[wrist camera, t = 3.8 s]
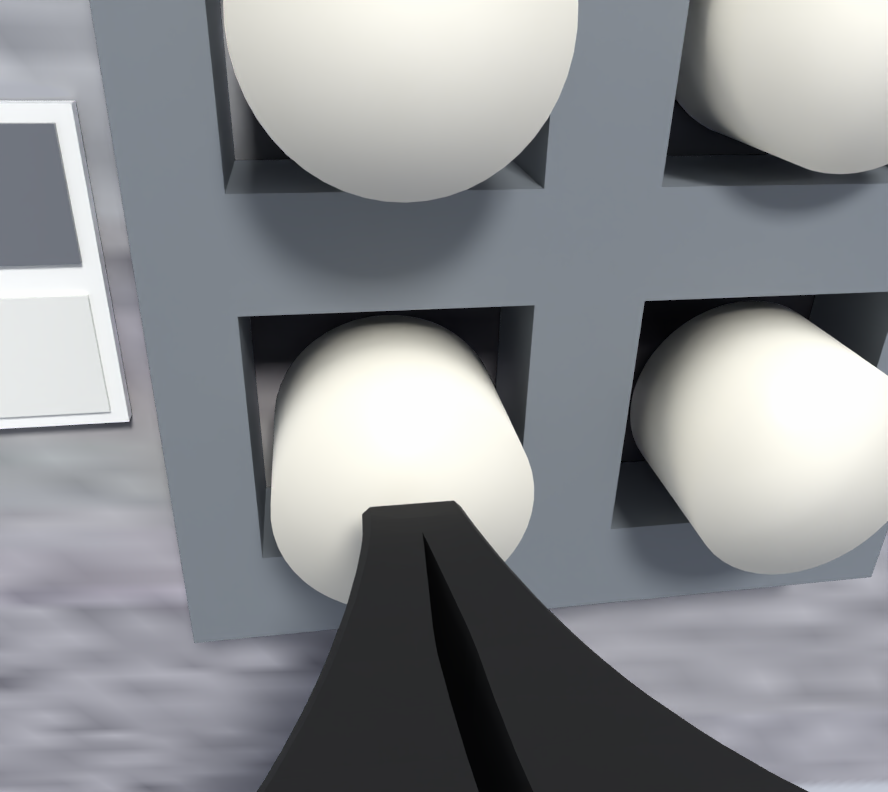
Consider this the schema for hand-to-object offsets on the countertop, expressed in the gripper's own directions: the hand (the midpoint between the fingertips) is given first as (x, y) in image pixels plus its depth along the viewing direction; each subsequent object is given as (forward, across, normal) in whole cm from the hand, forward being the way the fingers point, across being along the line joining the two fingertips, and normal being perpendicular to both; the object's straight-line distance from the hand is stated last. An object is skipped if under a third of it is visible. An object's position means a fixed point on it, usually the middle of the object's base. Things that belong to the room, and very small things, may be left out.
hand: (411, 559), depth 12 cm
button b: (+4, 0, -7) cm, 8 cm away
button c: (+4, -7, 0) cm, 8 cm away
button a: (+5, -7, -7) cm, 11 cm away
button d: (+4, 0, 0) cm, 4 cm away
